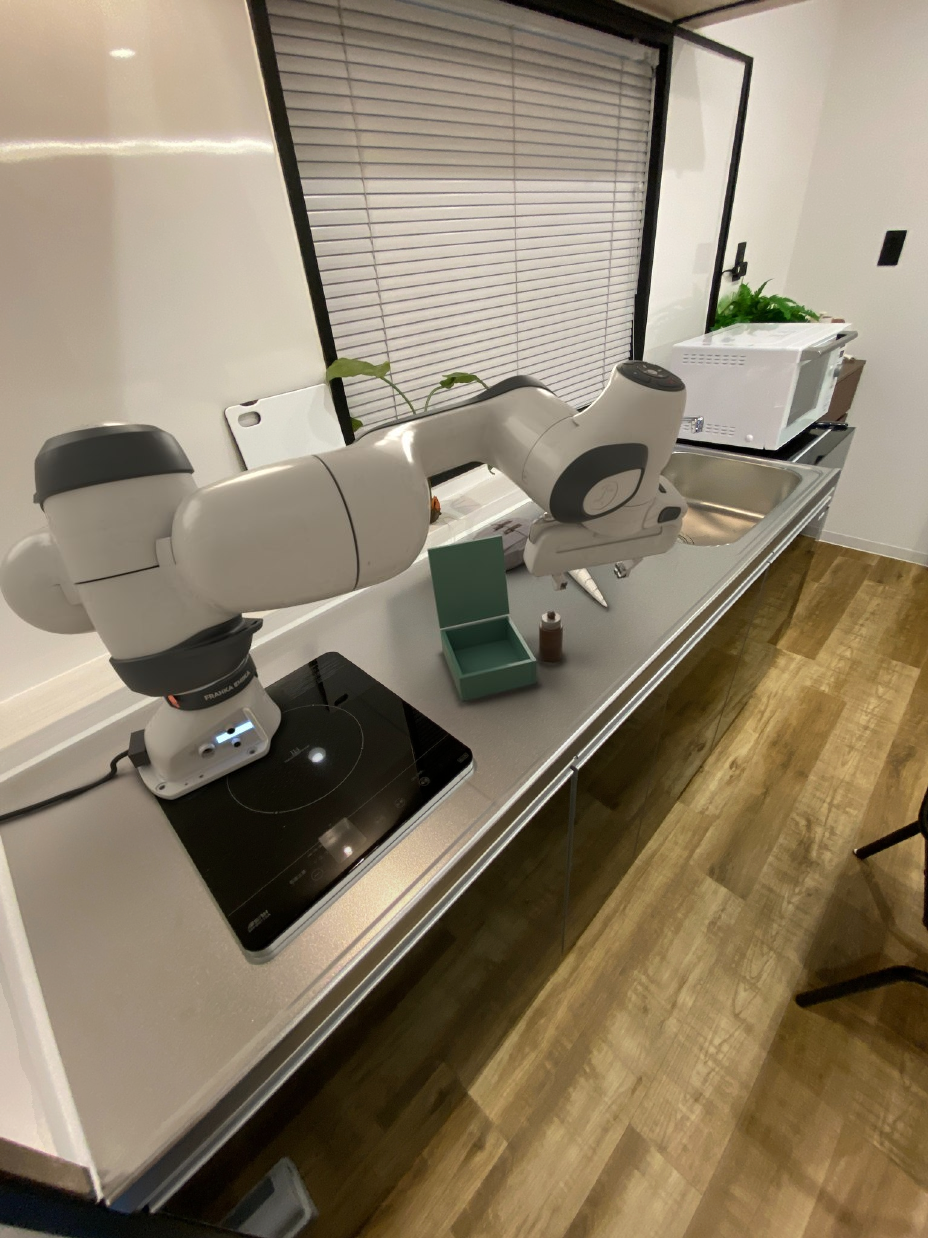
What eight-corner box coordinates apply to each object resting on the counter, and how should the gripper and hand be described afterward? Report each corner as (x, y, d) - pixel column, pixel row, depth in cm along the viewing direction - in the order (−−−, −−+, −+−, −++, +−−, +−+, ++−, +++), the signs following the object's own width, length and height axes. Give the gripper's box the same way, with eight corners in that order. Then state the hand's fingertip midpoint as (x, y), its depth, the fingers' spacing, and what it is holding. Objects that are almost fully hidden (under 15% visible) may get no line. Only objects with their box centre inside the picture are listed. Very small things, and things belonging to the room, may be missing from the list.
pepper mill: (552, 669, 97) (553, 621, 91) (534, 659, 99) (534, 612, 93) (566, 657, 99) (568, 610, 93) (548, 648, 102) (549, 602, 96)
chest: (536, 686, 93) (536, 660, 90) (462, 704, 91) (459, 678, 88) (509, 639, 105) (509, 614, 102) (443, 654, 103) (440, 629, 100)
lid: (502, 535, 95) (500, 534, 95) (427, 549, 93) (427, 548, 93) (509, 613, 101) (508, 612, 102) (440, 628, 99) (439, 627, 100)
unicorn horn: (589, 612, 110) (591, 592, 108) (551, 560, 130) (551, 542, 127) (611, 608, 111) (613, 588, 108) (570, 557, 130) (570, 539, 128)
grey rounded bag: (508, 579, 124) (559, 546, 135) (507, 547, 119) (560, 516, 130) (462, 560, 133) (513, 531, 144) (459, 530, 128) (512, 502, 140)
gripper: (541, 533, 60) (527, 611, 71) (701, 505, 64) (665, 584, 75) (522, 498, 64) (512, 578, 75) (675, 474, 68) (644, 553, 78)
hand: (589, 580), depth 75 cm, fingers open, 8 cm apart
